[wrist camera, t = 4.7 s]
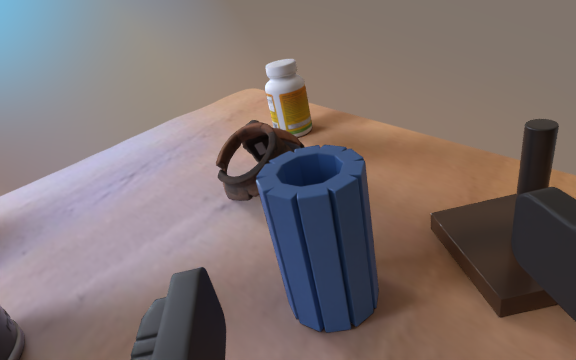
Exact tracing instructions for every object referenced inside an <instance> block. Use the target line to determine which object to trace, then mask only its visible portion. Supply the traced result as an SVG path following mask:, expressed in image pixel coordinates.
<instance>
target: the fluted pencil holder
mask: <svg viewBox="0 0 576 360" xmlns="http://www.w3.org/2000/svg"><path fill="white" fill-rule="evenodd" d="M294 152H295V153H293V152H291V151H288V152H286V153H284V154H282V155H280V156H278V157H276V158H274V159H272V160H270V161H269V162H270V164H265V165H264V167H263V168H262V169H261V171H260V172H259V174H258V175H257V180H256V183H257V187H258V191H259V194H260V198H261V202H262V205H263V209H264V213H265V216H266V220H267V224H268V227H269V231H270V235H271V238H272V242H273V246H274V249H275V253H276V257H277V260H278V264H279V268H280V271H281V275H282V279H283V282H284V286H285V290H286V293H287V297H288V301H289V304H290V306H291V308H292V311H293V313H294V315H295V317H296V319H299V321H300V323H301V324H304V325H306V326H308V327H310V328H312V329H315V330H317V331H319V332H321V331H322V329H323V328H324V327H325V331H326V332H327V333H328V332H335V331H343V330H350V329H351V324H350V322H351V323H352V324H353V325H354V326H356V327H357V326H358V325H359V324H361V323H362V322H363V321H364V320H365V319H367V318H368V317H369V316H370V315H371V314H372V313H373V308H376V306H377V299H378V292H379V289H378V279H377V270H376V260H375V251H374V241H373V232H372V222H371V213H370V203H369V194H368V184H367V175H366V165H365V161H364V159H363V157H362V156H360V155H359V154H358V153H356V152H355V151H354V150H352V149H348V150H347V148H346V147H342V146H332V145H324V146H322V147H321V148H320V146H319V145H316V146H310V147H305V148H299V149H295V151H294Z"/></svg>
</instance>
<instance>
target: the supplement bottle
mask: <svg viewBox="0 0 576 360" xmlns="http://www.w3.org/2000/svg"><path fill="white" fill-rule="evenodd" d="M296 71H297V67H296V62H295V60H294V59H284V60H279V61H275V62H272V63H269V64H267V65H266V72H267V75H268V77H269V78H270V81H268V82H267V84H266V86H265V91H266V96H267V100H268V104H269V109H270V113H271V118H272V122H273V126H274V128H280V129H282V130H286V131H288V132H290V133H291V134H292V135H294V136H296V137H300V136H303V135H305V134H307V133H308V132H309V131H310V130H311V129H312V121H311V116H310V110H309V105H308V99H307V93H306V87H305V83H304V79H303V78H302V77H301V76H299V75H296Z"/></svg>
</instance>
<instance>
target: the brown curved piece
mask: <svg viewBox="0 0 576 360" xmlns="http://www.w3.org/2000/svg"><path fill="white" fill-rule="evenodd" d="M241 143H242V145H243V148H244V149H246V150H247V151H248V152H249V153H250V154H252V155H253V157H254V158H255V160H256V161H257V162H259V163H258V164H257V165H256V166H255V167H254V168H253V169H252V170H250V171H249V172H247V173H246V174H243V175H241V176H236V177H231V176H228V175H227V168H228V164H229V162H230V159H231V158H232V156H233V154H234V153H235V151H236V150H237V149H238V148H239V147H240V145H241ZM299 148H305V147H304V145H303V144H302V143H301V142H300V141H299V140H298V138H297V137H296V136H294V135H292V134H291V133H290V132H288V131H286V130H282V129H280V128H272V127H271V126H269V125H268V124H265V123H261V122H259V121H256V120H252V121H250V122H249V123H248V124H246V126H244V127H242V128H241V129H239V130H238V131H236V132H235V133H234V134H233V135H232V136H231V137H230V138H229V139H228V140H227V142H226V143H225V144H224V146H223V147H222V149H221V151H220V153H219V155H218V158H217V161H216V165H217V166H218V167H220V168H221V169H222V170H220V171H219V174H218V178H219V180H221V181H222V182H223V185H224V189H225V192H226V194H227V196H228V198H229V199H232V200H250V199H251V198H252V197H253V196H255V197H256V196H258V195H260V194H259V191H258V187H257V183H256V180H257V175H258V174H259V172H260V171H261V169H262V168H263V167H264V165H265V164H270V162H269V161H270V160H272V159H274V158H276V157H278V156H280V155H282V154H284V153H286V152H288V151H291V152H293V153H295V152H294V151H295V149H299Z"/></svg>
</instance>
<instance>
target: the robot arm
mask: <svg viewBox="0 0 576 360" xmlns="http://www.w3.org/2000/svg"><path fill="white" fill-rule="evenodd" d="M511 245H512V251H513V254H514V256H515V258H516V260H517V262H518V263H519V265H520V266H521V267H522V268H523V269H524V270H525V271H526V272H527V273H528V274H529V275H530V276H531V277H532V278H533V279H534V280H535V281H536V282H537V283H538V284H539V285H540V286H541V287H542V288H543V289H544V290H545V291H546V292H547V293H548V294H549V295H550V296H551V297H552V298H553V299H554V300H555V301H556V302H557V303H558V304H559V305H560V306H561V307H562V308H563V309H564V310H565V311H566V312H567V313H568V314H569V315H570V316H571V317H572V318H573V319H574V320H575V321H576V199H574V198H572V197H571V196H569V195H568V194H566V193H565V192H563V191H562V190H560V189H558V188H555V187H548V188H544V189H540V190H536V191H531V192H527V193H523V194H520V195H519V196H518V197H517V199H516V203H515V212H514V221H513V231H512V240H511ZM23 346H24V333H23V331H22V330H21V328H20V327H19V326H18V325H17V323H16V322H15V321H14V320H12V319H11V317H10V316H9V315H8V313H7V312H6V311H5V310H4V309H3V308H2V307H1V306H0V360H18V359H19V357H20V355H21V353H22V350H23ZM225 349H226V324H225V318H224V314H223V310H222V307H221V305H220V302H219V300H218V298H217V295H216V293H215V290H214V288H213V285H212V283H211V280H210V278H209V275H208V273H207V271H206V269H205V268H204V267H201V268H197V269H193V270H188V271H184V272H180V273H175V274H173V275H172V278H171V281H170V285H169V289H168V294H167V297H165V298H161V299H156V300H155V301H154V302H153V304H152V305H151V306H150V308H149V309H148V311H147V312H146V313H145V315H144V316H143V318H142V320H141V323H140V326H139V330H138V333H137V336H136V342H135V343H134V346H133V350H132V353H131V360H225Z"/></svg>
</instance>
